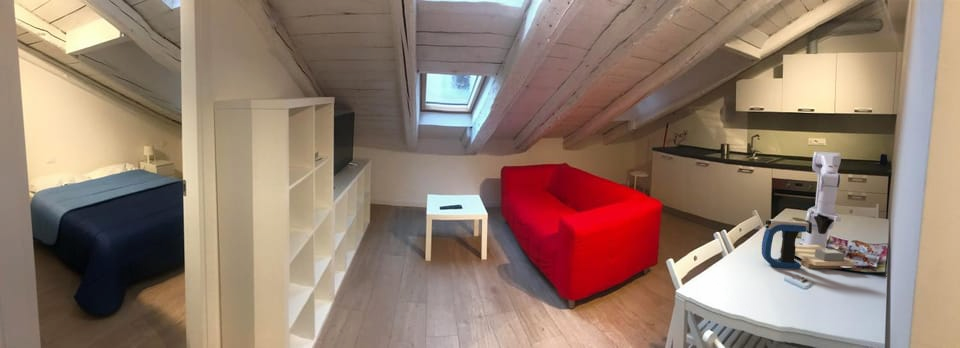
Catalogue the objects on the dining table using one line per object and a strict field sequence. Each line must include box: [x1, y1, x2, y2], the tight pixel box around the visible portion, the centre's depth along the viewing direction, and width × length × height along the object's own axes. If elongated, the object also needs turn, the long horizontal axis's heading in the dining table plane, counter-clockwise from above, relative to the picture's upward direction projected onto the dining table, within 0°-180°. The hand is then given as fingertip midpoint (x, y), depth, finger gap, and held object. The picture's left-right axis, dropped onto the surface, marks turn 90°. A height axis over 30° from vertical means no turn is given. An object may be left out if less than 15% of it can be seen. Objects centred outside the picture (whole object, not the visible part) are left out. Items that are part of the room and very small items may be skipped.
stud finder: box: [815, 248, 846, 261], centre depth 182 cm, size 5×8×3 cm, turn 91°
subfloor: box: [779, 244, 856, 269], centre depth 189 cm, size 20×18×4 cm
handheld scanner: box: [761, 218, 812, 270], centre depth 181 cm, size 4×16×19 cm, turn 78°
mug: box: [789, 216, 806, 239], centre depth 221 cm, size 12×10×10 cm
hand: (821, 233), depth 192 cm, fingers closed
